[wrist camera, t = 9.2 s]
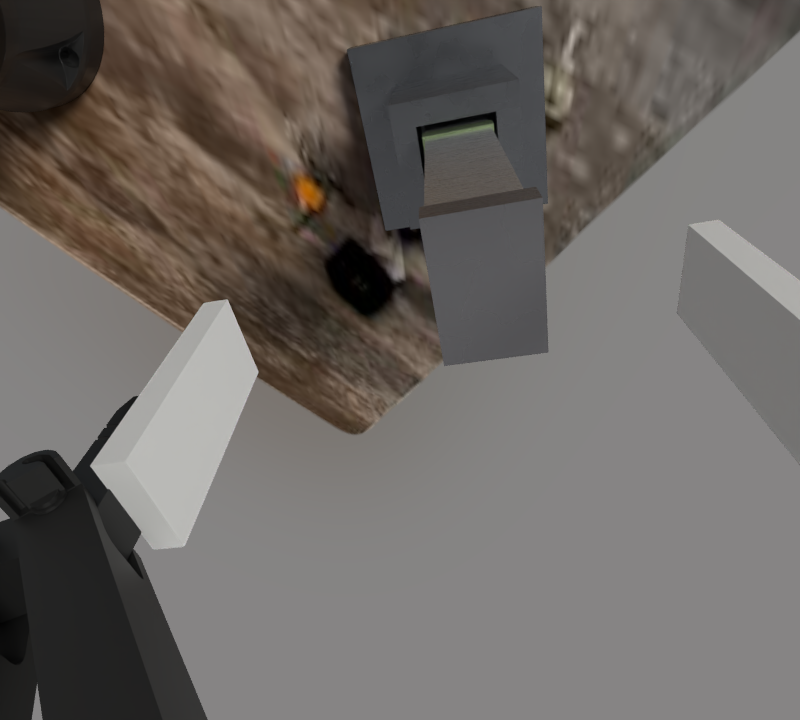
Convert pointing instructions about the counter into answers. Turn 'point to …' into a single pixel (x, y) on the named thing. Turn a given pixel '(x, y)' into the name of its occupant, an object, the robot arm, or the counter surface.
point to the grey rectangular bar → (482, 246)
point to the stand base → (451, 100)
